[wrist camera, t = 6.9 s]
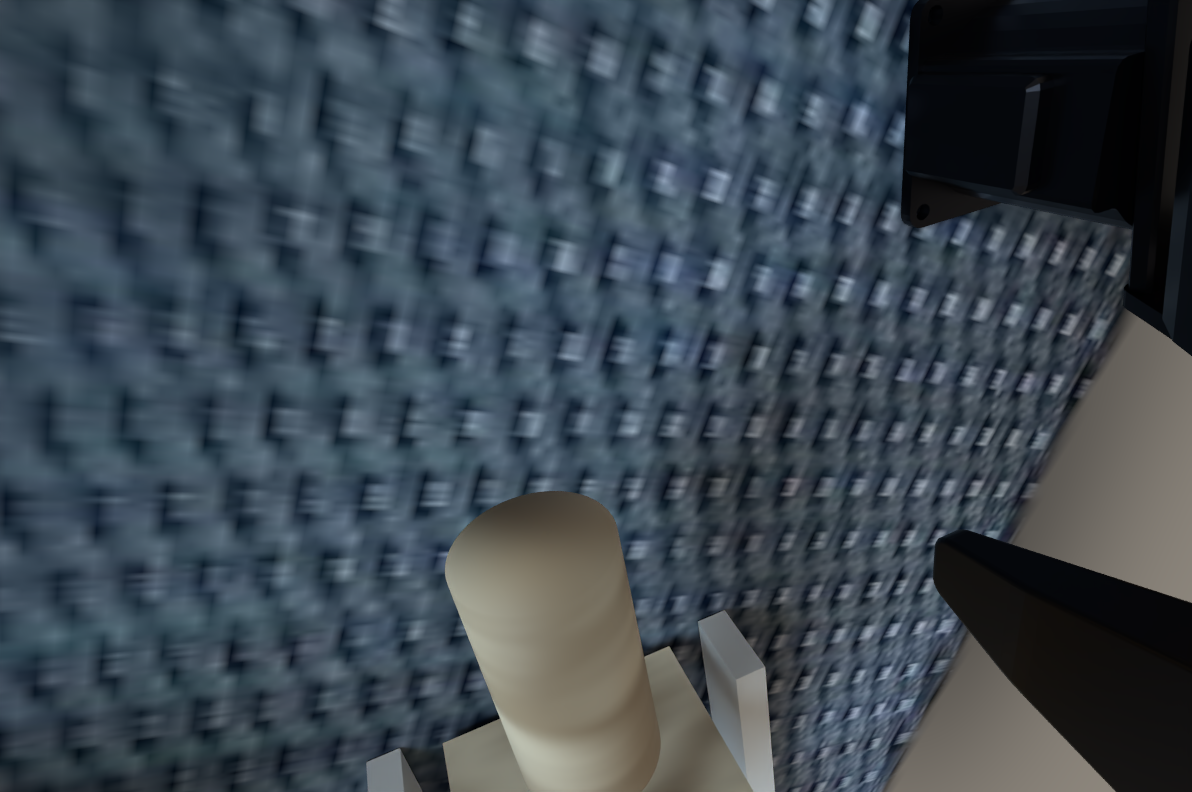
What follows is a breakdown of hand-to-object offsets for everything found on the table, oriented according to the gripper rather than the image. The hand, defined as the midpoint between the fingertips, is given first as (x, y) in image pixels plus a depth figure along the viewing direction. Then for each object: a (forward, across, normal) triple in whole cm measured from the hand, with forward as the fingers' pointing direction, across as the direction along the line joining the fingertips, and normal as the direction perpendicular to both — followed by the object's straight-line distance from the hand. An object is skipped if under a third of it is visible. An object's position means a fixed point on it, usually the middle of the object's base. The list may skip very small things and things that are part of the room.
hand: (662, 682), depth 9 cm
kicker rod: (+11, +1, +8) cm, 14 cm away
